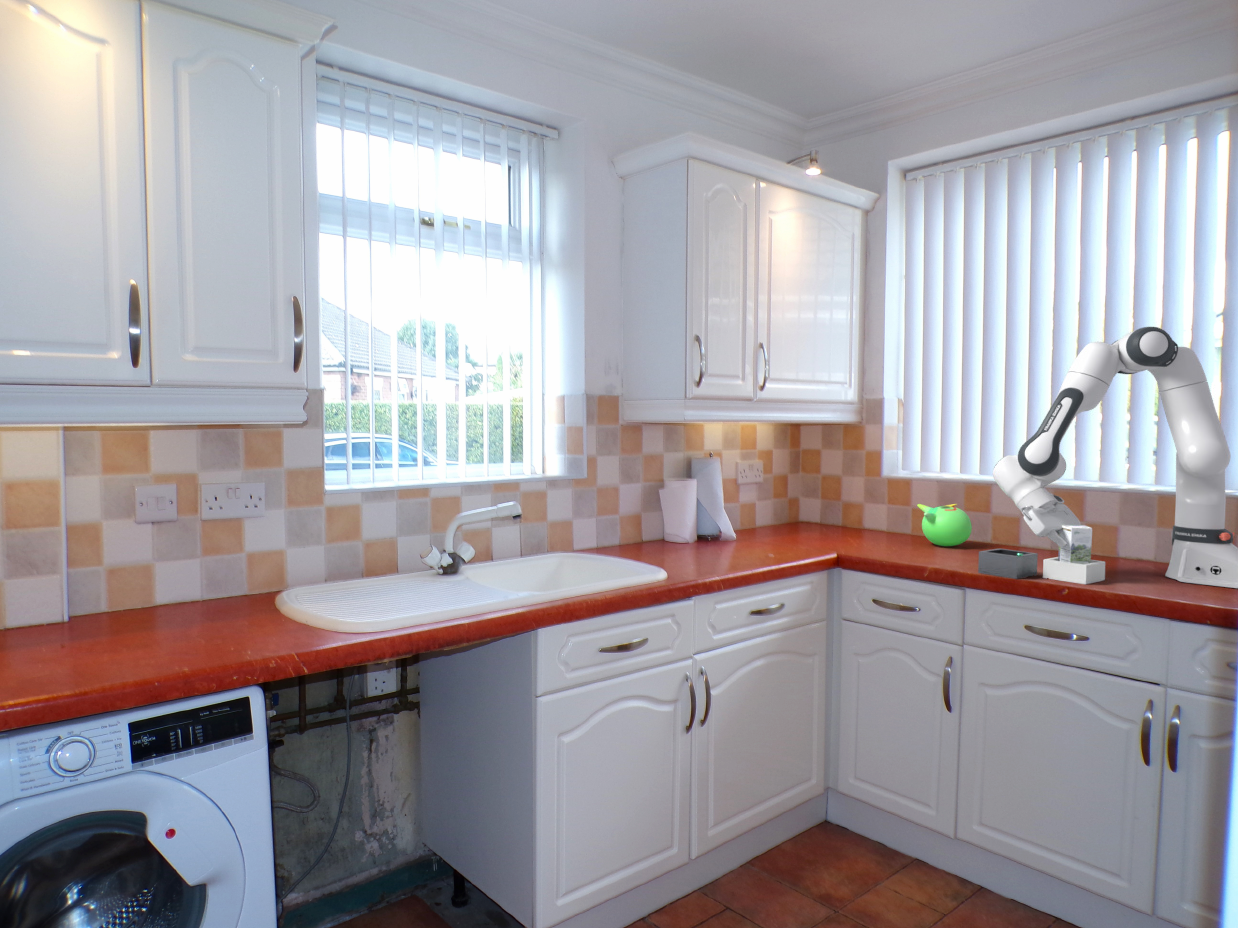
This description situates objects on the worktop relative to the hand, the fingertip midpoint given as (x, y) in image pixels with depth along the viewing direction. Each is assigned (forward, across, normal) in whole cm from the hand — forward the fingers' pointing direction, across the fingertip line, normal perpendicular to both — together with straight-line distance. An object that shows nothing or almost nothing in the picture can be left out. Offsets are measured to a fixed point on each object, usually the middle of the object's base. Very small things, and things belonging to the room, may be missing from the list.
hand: (1073, 544), depth 218 cm
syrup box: (+7, 0, +6) cm, 9 cm away
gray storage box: (-3, -8, +16) cm, 18 cm away
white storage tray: (+7, 0, +6) cm, 9 cm away
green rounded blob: (-32, +27, +45) cm, 62 cm away
